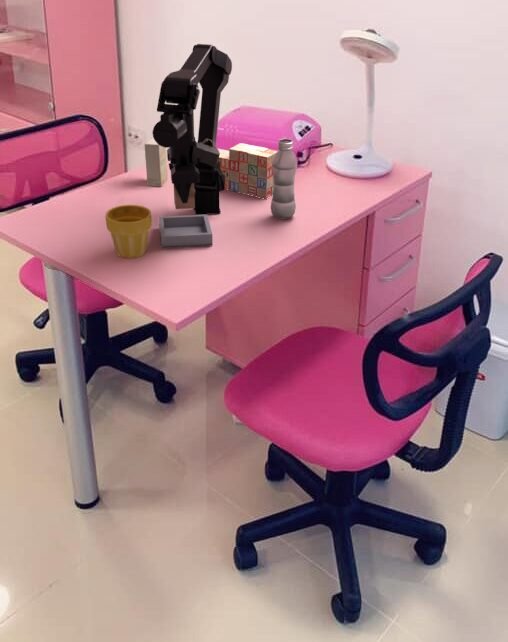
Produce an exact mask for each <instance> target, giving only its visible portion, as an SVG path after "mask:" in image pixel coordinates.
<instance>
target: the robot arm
mask: <svg viewBox="0 0 508 642" xmlns="http://www.w3.org/2000/svg"><path fill="white" fill-rule="evenodd" d="M232 71H233V62H232V59H231V58H230V57H229V55H228V54H227V53H225V52H223V51H222V50H220V49H218V48H217V47H216V46H214V45H213V44H203V43H197V44H194V45H193V47H192V52H191V53H190V55H189V56H188V57H187V59H186V60H185V61H184V63H183V65H182V66H181V68H180V69H178V70H176V71H172V72H170V73H169V74H168V75H166V77H164V79H163V81H162V82H161V84H160V90H159V95H158V100H157V101H158V102H157V106H156V107H157V108H156V112H157V113H162V114H161V115H160V117H159V118H160V119H159V121H158V122H157V123H156V124H154V125H153V129H152V138H154V140H155V141H156V143H157V144H158V145H160V146H162V147H165V148H166V158H167V162H168V168H169V170H170V171H169V172H170V179H171V180H170V181H171V185H172V184H173V187H174V186H175V188H176V190H177V192H178V194H179V197H180V199H181V201H182V203H187V202H188V197H189V192H190V187H191V184H192V183H194V197H195V208H192V209H193V211H194V212H195V215H205V214H207V215H218V214H219V213H220V214H221V212H222V211H221V207H220V193H221V192H222V191H224V190H225V177H224V175H223V173H222V171H221V169H220V161H219V159H218V158H219V156H220V153H219V150H218V149H219V148H218V149H217V135H218V128H219V127H218V126H219V115H220V107H221V106H220V104H221V95H222V94H221V93H222V92H223V90H224V89H225V88H226V86H227V85H228V83H229V79H230V75H231V73H232ZM198 84H199V85H200V87H201V91H200V89H199V88H200V87H199V85H198ZM200 93H201V99H200V112H199V123H198V135H197V140H196V137H195V119H194V117H195V116H194V111H195V110H196V109H197V104H198V100H199V97H200ZM169 162H170V163H169ZM220 214H219V215H220Z"/></svg>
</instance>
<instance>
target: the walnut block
mask: <svg viewBox="0 0 508 642" xmlns="http://www.w3.org/2000/svg"><path fill="white" fill-rule="evenodd" d="M173 195H174V196H173V201H174V206H175V207H174V208H175V210H187V209H193V208H195V197H194V183H192V184H191V187H190V192H189V197H188V202H187V203H182V201H181V199H180V197H179V194H178V192H177V190H176V188H175V186H174V185H173Z"/></svg>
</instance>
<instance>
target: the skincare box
mask: <svg viewBox="0 0 508 642" xmlns="http://www.w3.org/2000/svg"><path fill="white" fill-rule="evenodd" d="M144 154H145V155H144V156H145V158H144V159H145V169H146V170H145V171H146V181H147V183H146V185H147V186H151V187H163V185H165V184H166V183H167V182H168V179H169V177H168V164H167V163H168V158H167V148H165V147H162V146H160V145H158V144H157V143H156V141H155V140H154V138H153V137H151V138H150V139H149V140H147V141H146V142H145V143H144Z"/></svg>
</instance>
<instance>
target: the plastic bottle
mask: <svg viewBox="0 0 508 642" xmlns="http://www.w3.org/2000/svg"><path fill="white" fill-rule="evenodd" d="M293 144H294V140H292V139H290V138H280V139H278V141H277V151H278V152H277V153H276V154H275V156H274V157H273V160H272V168H273V181H274V188H273V196H271V198H272V199H271V202H270V213H271V214H272V216H273V217H274V218H276V219H282V220H283V219H284V220H285V219H290V218H291V217H293V216H294V215H295V214H296V209H297V208H296V199H295V182H296V181H295V180H296V173H297V167H298V159H297V156H296V155H295V152H293V149H294V145H293Z"/></svg>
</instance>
